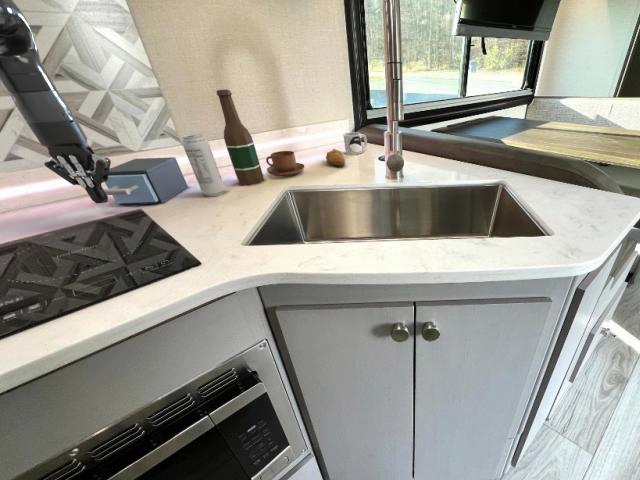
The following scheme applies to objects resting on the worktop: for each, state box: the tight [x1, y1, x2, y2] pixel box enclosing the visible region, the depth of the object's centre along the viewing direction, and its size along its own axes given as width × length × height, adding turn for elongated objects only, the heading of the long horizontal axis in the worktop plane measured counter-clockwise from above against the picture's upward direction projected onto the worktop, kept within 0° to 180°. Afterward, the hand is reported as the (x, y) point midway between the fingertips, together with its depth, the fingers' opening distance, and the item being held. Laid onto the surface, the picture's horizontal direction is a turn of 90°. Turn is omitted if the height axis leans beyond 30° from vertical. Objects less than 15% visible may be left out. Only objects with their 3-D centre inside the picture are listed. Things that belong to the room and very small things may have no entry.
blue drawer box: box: [108, 156, 189, 206], centre depth 88 cm, size 14×12×9 cm
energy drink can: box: [182, 133, 226, 197], centre depth 86 cm, size 6×6×15 cm
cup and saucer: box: [265, 150, 305, 177], centre depth 103 cm, size 12×12×6 cm
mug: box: [342, 131, 368, 155], centre depth 125 cm, size 10×7×7 cm
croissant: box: [325, 148, 346, 167], centre depth 111 cm, size 14×7×5 cm, turn 29°
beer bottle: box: [216, 89, 265, 186], centre depth 91 cm, size 8×8×24 cm
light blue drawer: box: [103, 174, 158, 204], centre depth 84 cm, size 17×10×7 cm, turn 1°
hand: (102, 202), depth 74 cm, fingers closed
